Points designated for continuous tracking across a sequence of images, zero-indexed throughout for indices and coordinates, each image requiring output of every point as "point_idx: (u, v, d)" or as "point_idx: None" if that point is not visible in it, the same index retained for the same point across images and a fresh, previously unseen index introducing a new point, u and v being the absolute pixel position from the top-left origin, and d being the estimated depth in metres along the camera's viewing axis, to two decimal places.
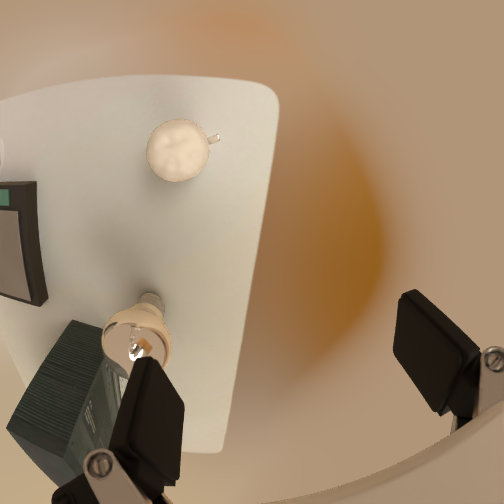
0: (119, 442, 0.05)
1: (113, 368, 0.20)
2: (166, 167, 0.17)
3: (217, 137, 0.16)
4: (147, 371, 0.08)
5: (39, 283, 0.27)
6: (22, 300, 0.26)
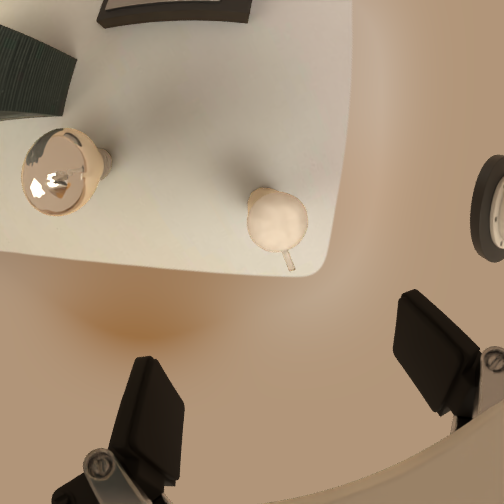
0: (119, 442, 0.05)
1: (33, 157, 0.13)
2: (263, 219, 0.19)
3: (291, 268, 0.19)
4: (147, 371, 0.08)
5: (124, 19, 0.17)
6: None
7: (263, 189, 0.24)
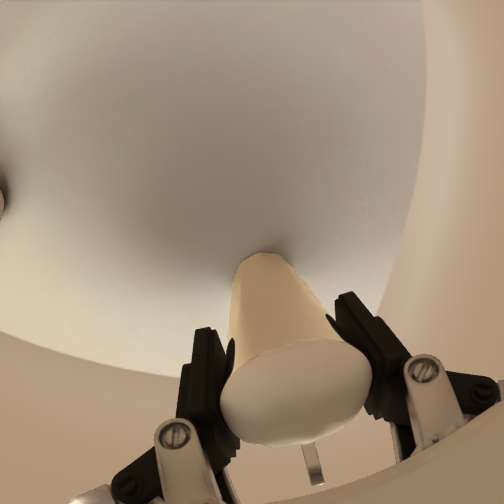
0: (197, 407, 0.06)
1: None
2: (264, 422, 0.06)
3: (317, 481, 0.06)
4: (210, 340, 0.09)
5: None
6: None
7: (265, 275, 0.11)
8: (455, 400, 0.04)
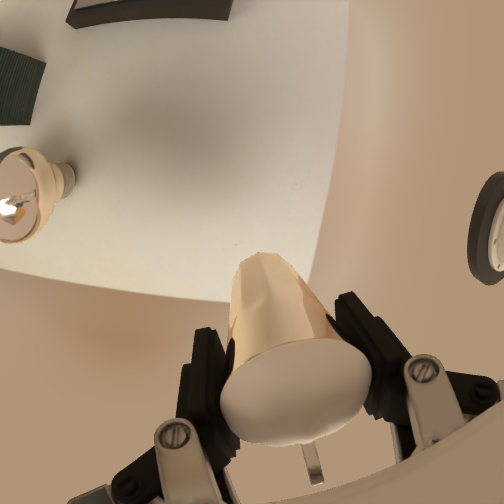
0: (197, 407, 0.06)
1: None
2: (264, 421, 0.06)
3: (317, 480, 0.06)
4: (210, 340, 0.09)
5: (94, 19, 0.14)
6: None
7: (265, 275, 0.11)
8: (455, 400, 0.04)
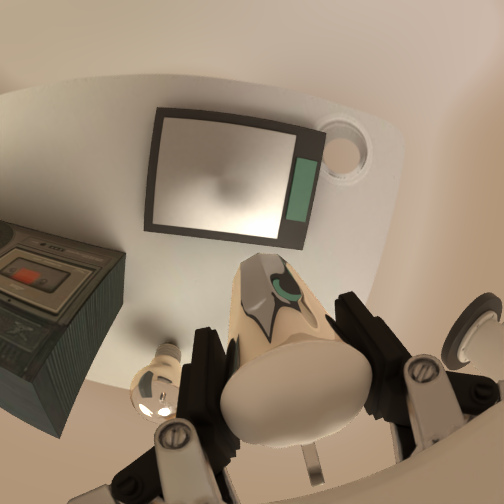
0: (198, 407, 0.06)
1: (150, 408, 0.22)
2: (264, 423, 0.06)
3: (317, 481, 0.06)
4: (210, 340, 0.09)
5: None
6: (148, 196, 0.24)
7: (265, 276, 0.11)
8: (455, 400, 0.04)
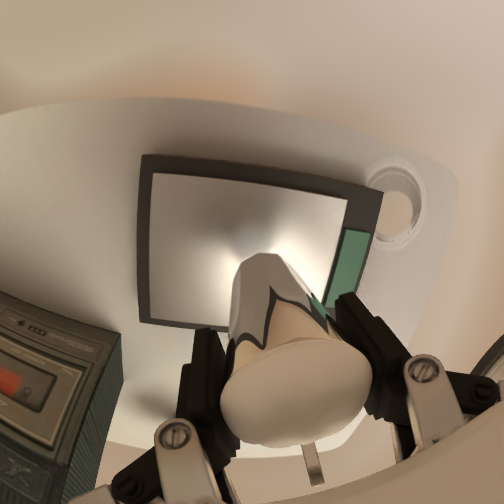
0: (197, 407, 0.06)
1: None
2: (264, 423, 0.06)
3: (317, 481, 0.06)
4: (210, 340, 0.09)
5: None
6: (141, 282, 0.18)
7: (265, 275, 0.11)
8: (455, 400, 0.04)
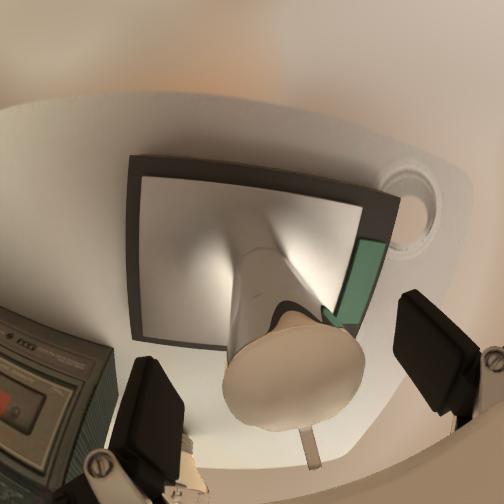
0: (119, 442, 0.05)
1: None
2: (264, 403, 0.06)
3: (315, 465, 0.07)
4: (147, 371, 0.08)
5: None
6: (132, 298, 0.15)
7: (264, 269, 0.11)
8: None
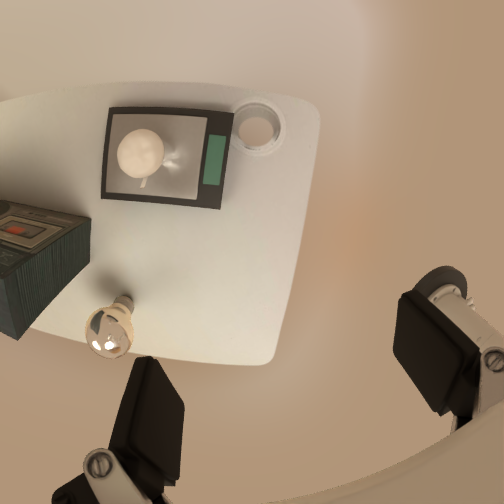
0: (119, 442, 0.05)
1: (96, 338, 0.28)
2: (124, 148, 0.20)
3: (142, 186, 0.21)
4: (147, 371, 0.08)
5: None
6: (103, 172, 0.30)
7: None
8: None
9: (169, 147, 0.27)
